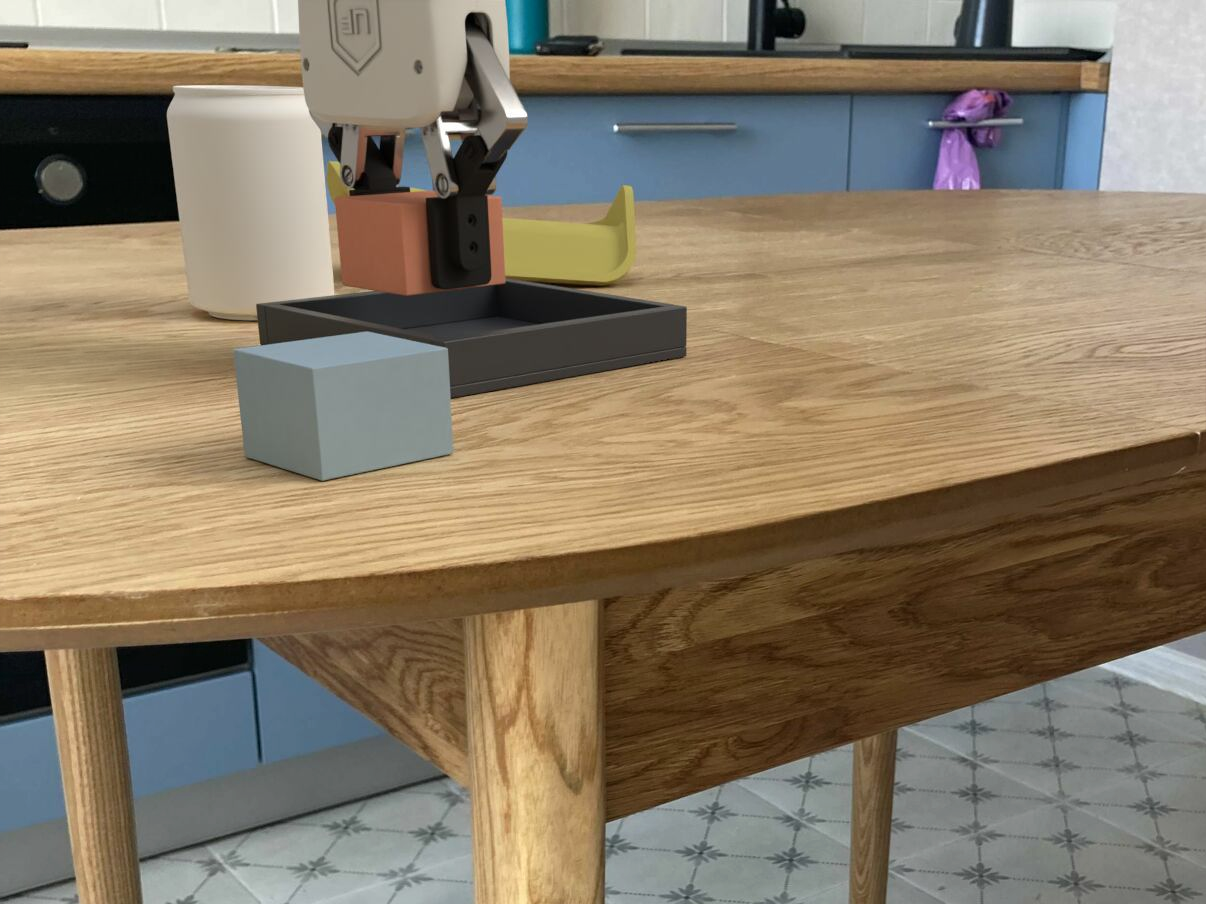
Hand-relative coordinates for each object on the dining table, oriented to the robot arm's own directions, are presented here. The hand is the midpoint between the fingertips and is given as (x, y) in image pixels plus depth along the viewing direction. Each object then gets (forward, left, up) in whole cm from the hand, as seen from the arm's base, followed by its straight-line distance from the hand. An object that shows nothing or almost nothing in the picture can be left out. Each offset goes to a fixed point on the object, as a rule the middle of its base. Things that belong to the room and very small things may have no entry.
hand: (423, 275), depth 74 cm
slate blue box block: (+13, -14, -4) cm, 19 cm away
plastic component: (-23, +23, -4) cm, 33 cm away
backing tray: (0, +3, -4) cm, 5 cm away
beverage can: (-19, +3, -4) cm, 20 cm away
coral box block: (0, 0, 0) cm, 0 cm away
